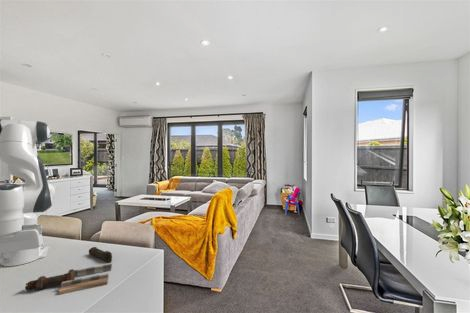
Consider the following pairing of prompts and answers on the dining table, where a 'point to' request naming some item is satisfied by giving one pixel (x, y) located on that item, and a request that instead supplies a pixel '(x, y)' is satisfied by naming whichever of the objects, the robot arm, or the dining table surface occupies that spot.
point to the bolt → (50, 281)
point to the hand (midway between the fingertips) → (7, 263)
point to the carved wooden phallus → (101, 254)
